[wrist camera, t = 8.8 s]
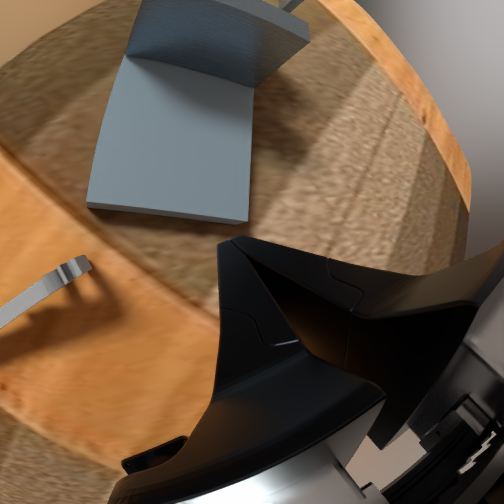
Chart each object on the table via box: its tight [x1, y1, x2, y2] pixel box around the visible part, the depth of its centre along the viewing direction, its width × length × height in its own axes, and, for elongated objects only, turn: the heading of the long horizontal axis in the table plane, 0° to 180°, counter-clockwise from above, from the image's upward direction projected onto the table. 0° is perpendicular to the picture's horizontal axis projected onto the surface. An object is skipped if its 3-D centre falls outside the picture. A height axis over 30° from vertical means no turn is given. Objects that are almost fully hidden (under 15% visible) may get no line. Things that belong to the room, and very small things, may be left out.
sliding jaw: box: [125, 0, 310, 88], centre depth 17 cm, size 3×12×8 cm, turn 87°
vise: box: [86, 0, 304, 225], centre depth 18 cm, size 22×12×10 cm, turn 177°
